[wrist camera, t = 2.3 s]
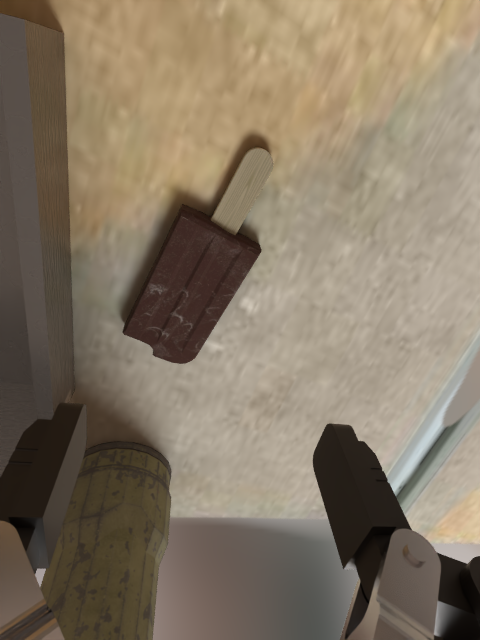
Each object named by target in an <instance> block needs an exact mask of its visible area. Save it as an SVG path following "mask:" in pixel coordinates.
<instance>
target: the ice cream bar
mask: <svg viewBox="0 0 480 640" xmlns="http://www.w3.org/2000/svg"><path fill="white" fill-rule="evenodd" d="M272 169H273V160H272V157H271V155H270V154H269V153H268V152H267V151H266V150H265V149H263V148H261V147H254V148H251V149H250V150H248V151H247V152H246V153H245V154H244V156H243V158H242V160H241V162H240V163H239V165H238V167H237V169H236V171H235V173H234V175H233V177H232V179H231V181H230V182H229V184H228V186H227V188H226V190H225V192H224V194H223V196H222V198H221V200H220V201H219V203H218V205H217V207H216V209H215V211H214V213H213V215H212V217H210V216H208V215H206V214H204V213H203V212H201V211H198V210H196V209H193V208H191V207H188V206H185V205H183V204H182V206H181V209H180V211H179V213H178V215H177V217H176V219H175V221H174V223H173V225H172V227H171V229H170V232H169V234H168V236H167V238H166V240H165V242H164V244H163V246H162V248H161V250H160V252H159V254H158V257H157V259H156V261H155V263H154V265H153V267H152V269H151V271H150V273H149V275H148V277H147V280H146V282H145V284H144V286H143V288H142V290H141V292H140V294H139V296H138V298H137V300H136V302H135V305H134V307H133V309H132V311H131V313H130V315H129V317H128V319H127V321H126V323H125V326H124V329H123V333H124V335H127V336H129V337H132V338H135V339H137V340H140V341H142V342H145V343H147V344H149V345H150V346H151V347H152V348H153V355H154V356H155V357H158V358H161V359H164V360H167V361H169V362H172V363H179V364H183V363H187V362H190V361H192V360H193V359H194V358H195V357H196V356H197V354H198V353H199V351H200V349H201V348H202V346H203V345H204V343H205V341H206V340H207V338H208V336H209V335H210V333H211V332H212V330H213V328H214V327H215V325H216V324H217V322H218V320H219V319H220V317H221V316H222V314H223V312H224V311H225V309H226V308H227V306H228V304H229V303H230V301H231V299H232V298H233V296H234V295H235V293H236V291H237V290H238V288H239V287H240V285H241V283H242V282H243V280H244V279H245V277H246V275H247V274H248V272H249V271H250V269H251V267H252V266H253V264H254V262H255V261H256V259H257V258H258V256H259V254H260V253H261V251H262V250H261V247H260V245H259V244H258V243H256V242H254V241H253V240H251V239H249V238H248V237H246V236H244V235H242V234H239V233H237V232H238V230H239V228H240V227H241V225H242V223H243V221H244V220H245V218H246V216H247V214H248V213H249V211H250V209H251V207H252V206H253V204H254V202H255V200H256V199H257V197H258V195H259V193H260V192H261V190H262V188H263V186H264V185H265V183H266V181H267V179H268V178H269V176H270V174H271V172H272Z"/></svg>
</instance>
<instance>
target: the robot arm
mask: <svg viewBox="0 0 480 640" xmlns="http://www.w3.org/2000/svg"><path fill="white" fill-rule="evenodd" d="M86 442H87V410H86V404H74V403H59V405H58V406H57V408H56V411H55V413H54V415H53V417H52V420H47V419H37V420H36V421H35V422H34V423H33V424H32V425H31V426H29V427H28V428H27V429H26V430H25V431H24V432H23V434H22V436H21V438H20V440H19V442H18V444H17V446H16V447H15V451H13V453H12V455H11V457H10V459H9V462H8V465H6V467H5V469H4V471H3V473H2V475H1V477H0V640H65V639H64V637H63V634H62V632H61V630H60V627H59V625H58V622H57V620H56V618H55V616H54V614H53V612H52V610H51V609H50V608H49V607H48V606H47V603H46V601H45V599H44V596H43V594H42V591H41V589H40V587H39V584H38V582H37V579H36V577H35V573H36V570H37V568H49V567H50V563H51V560H52V557H53V554H54V551H55V547H56V544H57V541H58V538H59V534H60V531H61V528H62V525H63V522H64V518H65V515H66V512H67V509H68V506H69V502H70V499H71V496H72V493H73V489H74V486H75V483H76V480H77V477H78V473H79V470H80V467H81V464H82V461H83V457H84V453H85V449H86ZM313 468H314V472H315V475H316V479H317V482H318V486H319V489H320V492H321V496H322V499H323V502H324V506H325V509H326V512H327V516H328V519H329V522H330V526H331V529H332V532H333V536H334V539H335V542H336V545H337V549H338V552H339V556H340V559H341V563H342V566H343V569H357V572H358V575H359V578H360V579H359V580H358V581H357V584H356V587H355V590H354V594H353V597H352V600H351V604H350V607H349V610H348V613H347V617H346V620H345V624H344V627H343V630H342V633H341V637H340V640H480V556H478V557H475V558H473V559H472V560H471V561H470V562H469V563H468V564H466V563H463V562H460V561H458V560H455V559H452V558H449V557H447V556H444V555H441V554H439V553H437V552H436V551H435V549H434V548H433V546H432V545H431V544H430V543H429V542H428V541H427V540H426V539H425V538H424V537H423V536H421V535H420V534H419V533H417V532H415V531H412V529H411V527H410V526H409V524H408V521H407V519H406V517H405V515H404V513H403V511H402V509H401V507H400V505H399V503H398V501H397V498H396V496H395V494H394V492H393V490H392V488H391V486H390V484H389V483H388V482H387V481H388V480H387V478H386V475H385V473H384V471H382V467H381V465H380V463H379V461H378V459H377V457H376V455H375V453H374V452H373V451H372V450H371V449H370V448H369V447H368V445H367V444H366V443H365V442H363V441H358V439H357V437H356V434H355V432H354V430H353V428H352V427H351V426H350V425H343V424H327V425H326V427H325V429H324V431H323V433H322V436H321V438H320V440H319V442H318V444H317V447H316V449H315V451H314V455H313Z"/></svg>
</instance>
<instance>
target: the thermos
mask: <svg viewBox="0 0 480 640" xmlns="http://www.w3.org/2000/svg"><path fill="white" fill-rule="evenodd" d="M170 479H171V469H170V466H169V463H168V461H167V460H166V459H165V458H164V457H163V456H162V455H161V454H160V453H159V452H157V451H155V450H153V449H152V448H150V447H147V446H144V445H140V444H137V443H130V442H112V443H105V444H100V445H98V446H95V447H93V448H90V449H88V450H87V451H85V453H84V457H83V461H82V464H81V467H80V470H79V473H78V477H77V480H76V483H75V486H74V489H73V493H72V496H71V499H70V502H69V506H68V509H67V512H66V515H65V518H64V522H63V525H62V528H61V531H60V534H59V538H58V541H57V544H56V547H55V551H54V554H53V557H52V560H51V563H50V567H49V568H46V571H45V574H44V577H43V581H42V584H41V587H40V589H41V591H42V594H43V596H44V599H45V601H46V603H47V606H48V607H49V608H50V609H51V610H52V612H53V614H54V616H55V618H56V620H57V622H58V625H59V627H60V630H61V632H62V634H63V637H64V639H65V640H152V638H153V627H154V616H155V604H156V593H157V581H158V570H159V565H160V562H161V560H162V558H163V555H164V553H165V550H166V548H167V545H168V535H169V520H170V507H171V496H170V493H169V484H170Z"/></svg>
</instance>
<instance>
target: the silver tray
mask: <svg viewBox="0 0 480 640" xmlns="http://www.w3.org/2000/svg"><path fill="white" fill-rule="evenodd" d="M74 390H75V385H74V352H73V319H72V287H71V254H70V221H69V188H68V155H67V122H66V89H65V56H64V33H62V32H59V31H56V30H53V29H51V28H48V27H45V26H42V25H39V24H36V23H33V22H30V21H27V20H25V19H21V18H17V17H13V16H9V15H5V14H1V13H0V477H1V475H2V473H3V471H4V469H5V467H6V465H8V462H9V459H10V457H11V455H12V453H13V451H15V447H16V446H17V444H18V442H19V440H20V438H21V436H22V434H23V432H24V431H25V430H26V429H27V428H28V427H29V426H31V425H32V424H33V423H34V422H35V421H36V420H37V419H47V420H52V417H53V415H54V413H55V411H56V408H57V406H58V405H59V403H69V402H70V399H71V397H72V395H73V392H74Z"/></svg>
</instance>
